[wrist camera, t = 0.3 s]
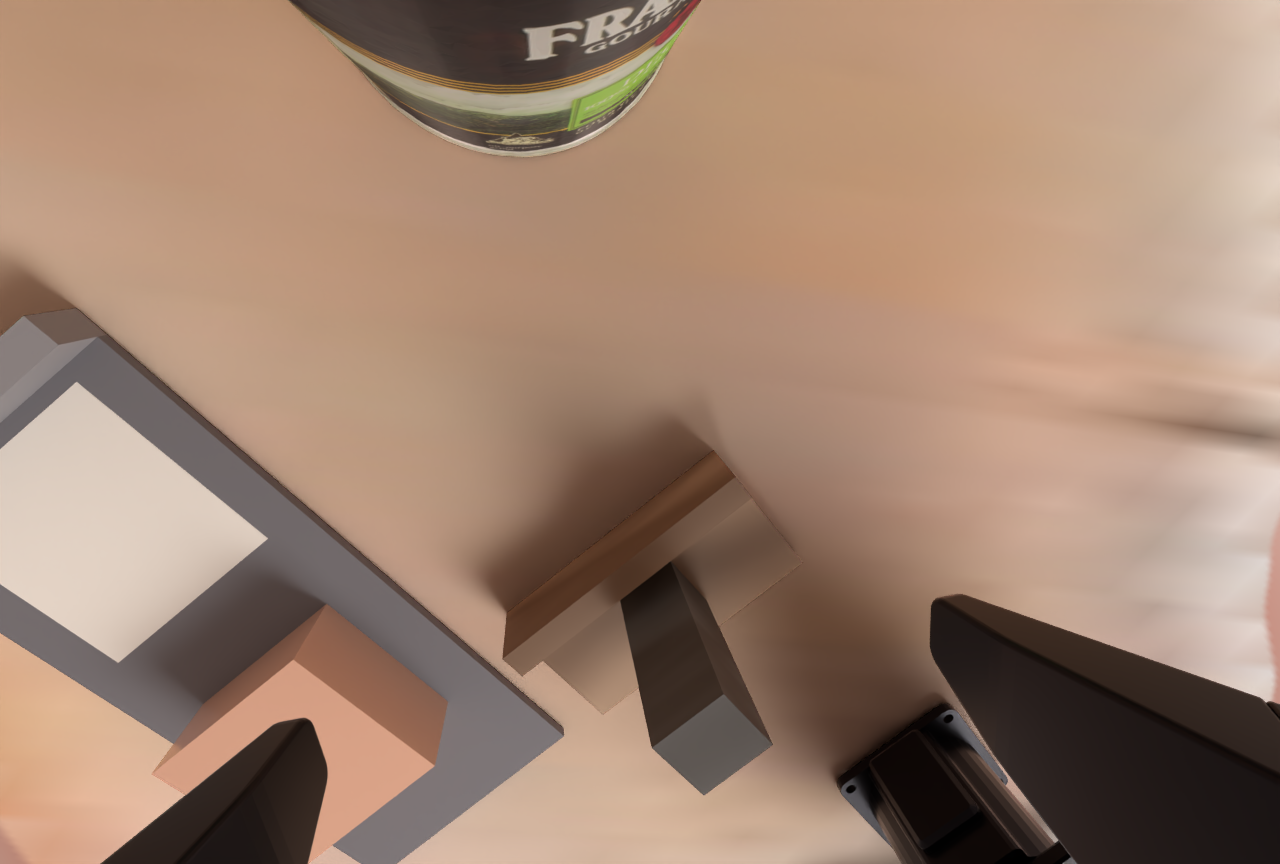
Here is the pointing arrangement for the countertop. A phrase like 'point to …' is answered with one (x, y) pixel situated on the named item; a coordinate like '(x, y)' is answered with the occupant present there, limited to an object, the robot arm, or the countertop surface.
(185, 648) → the gray ledged slab
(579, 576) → the beige ledged slab
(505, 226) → the countertop surface
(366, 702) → the tile
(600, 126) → the coffee can
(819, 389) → the countertop surface
